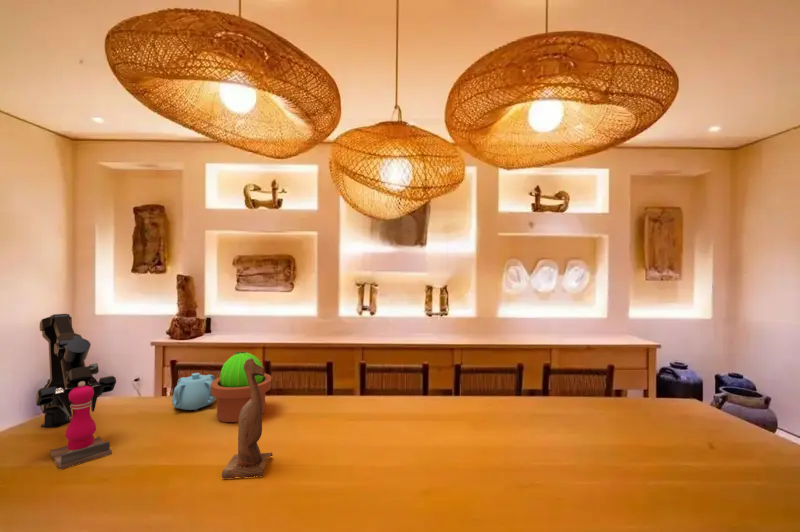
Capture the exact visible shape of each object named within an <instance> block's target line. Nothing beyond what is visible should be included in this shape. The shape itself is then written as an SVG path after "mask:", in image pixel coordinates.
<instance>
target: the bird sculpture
mask: <svg viewBox="0 0 800 532" xmlns="http://www.w3.org/2000/svg"><path fill="white" fill-rule="evenodd" d="M262 367H263V366H262ZM262 367H261V366H259V365H257V364H256V363H255V362H254V360H253V358H249V359H247V360H246V361H245V363H244V367H243V368H244V371H245V373H246V376H247V380H248V384H249V389H250V395H251V399H250V400H249V401H248V402H247V403H246V404H245V405H244V407H243V408H242V409H241V412H240V415H239V422H238V429H237V430H238V431H237V432H238V433H237V453H238V454H233V456H232V458H231V459H230V460H229V461H228V463H227V465H226V466H225V467H224V468H223V470H222V471H221V479H222V478H224V479H225V478H234V479H235V477H243V478H244V477H248V478H249V477H254V476H255V477H256V476H257V477H258V476H259V477H260V476H262V477H263V476H264V470H265V467H266V465H267V463H268V460H269V457H270V456H273V457H274V454H273V452H261V450H260V447H259V443H258V442H259V440H260V439H261V437H262V434H263V415H262V399H261V393H260V390H259V387H258V384H257V381H256V379H255V376H257V375H260V376H264V373H265V371H264V367H263V368H262ZM257 477H256V478H257Z"/></svg>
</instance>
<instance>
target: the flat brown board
mask: <svg viewBox="0 0 800 532" xmlns="http://www.w3.org/2000/svg"><path fill="white" fill-rule="evenodd" d="M50 454H51V455H50ZM109 454H110V455H112V454H113V450H112V448H110V441H109V440H107V441H104V440H103V439H102V438H101V437H100V436H97V437H94V443H93V444H92V445H90V446H88V447H86V448H82V449H78V450H69V449H68V448H67V445H65V446H61V447H58V448H54V449H51V450H49V455H50V457H51V456H52V457H53V459H54V460H53V459H52V460H53V462H54V461H55V462H56V464H57V465H56V464H55V465H56V466H58V467H59V468H58V467H57V468H58V470H59V469H62V470H64V469H63V468H65V469H67V468H66V467H68V468H70V467H69V466H71V467H73V466H72V465H75V466H77V465H76V464H78V465H80V464H79V463H81V464H83V462H84V463H87V462H90V461H89V460H91V461H93V460H92V459H94V460H96V459H95V458H97V459H100V458H102V456H103V457H106V456H110V455H109ZM105 455H106V456H105ZM52 457H51V458H52ZM99 457H100V458H99ZM86 461H87V462H86ZM55 462H54V463H55Z"/></svg>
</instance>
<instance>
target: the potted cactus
mask: <svg viewBox="0 0 800 532" xmlns="http://www.w3.org/2000/svg"><path fill="white" fill-rule="evenodd" d="M249 358H253V360H254V362H255V363H256V364H257V365H259V366H261V367H262V368H263V369H264V368H265V367H264V366H263V363H262V362H261V361H260V359H259V358H258V357H257V356H256V355H255V354H252V353H250V352H246V351H241V352H239V351H236V352H234V353H233V354H232V356H230V357H229V358H228V359H227V360H225V362H224V363H223V364H222V365H223V366H222V368H221V371H219V372H220V374H219V377H217V378H215V380H214V381H213V382H212V383H211V395H212V396H213V397H216V401H217V404H216V406H217V407H216V411H217V412H216V417H217V420H218V421H220V422H222V423H227V422H238V423H239V415H240V412H241V409H242V408H243V407H244V405H245V404H246V403H247V402H248V401H249V400H250V399H251V395H250V389H249V384H248V380H247V376H246V373H245V371H244V368H243V367H244V363H245V361H246V360H247V359H249ZM255 379H256V381H257V384H258V387H259V390H260V393H261V399H262V414H263V415H264V414H265V411H266V393H267V392H268V391H270V390H271V389H272V376H271V375H270V374H269V373H266V372H264V376H260V375H257V376H255Z"/></svg>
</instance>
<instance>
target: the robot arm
mask: <svg viewBox="0 0 800 532" xmlns="http://www.w3.org/2000/svg"><path fill="white" fill-rule="evenodd" d="M39 332H41V335H42V338H43V339H44V340H46V342H48V359H49V361H48V362H49V381H50V382H49V383H48V385H46V387H41V388H39V389H38V390H37V392H36V396H35V406H37V407H40V408H41V411H42V412H44V413H45V414H44V423H43V424H41V425H40V428H41V427H42V428H43V427H44V428H58V427H61V426H63V425H65V424H67V423H70V422H71V419H72V416H73V411H72V409H71V403H72V402H71V401H70V400H69V397H68V396H69V393H70V391H71V390H72V389H74V388H75V387H78V383H79V382H80V381H84V382H85V385H87V386H90V387H92V388H93V390H94V395H93V397H92V398H91V400H92V405H91V406H90V411H91V412H95V409H96V405H97V400H98V397H99V396H102V394H104V393H109V392H112V391H114V389H115V386H116V383H117V379H116V378H117V377H115V376H114V375H110V376H104V377H100V378H99V380H98V382H94V383H90V382H91V381H92V376H93V375H97V374H98V373H99V364H98V363H97V362H94V363H91V364H89V365H88V366H86V362H85V360H86V359H87V356H88V354H89V351H90V348H91V345H92V344H91V342H90V341H89V340H87V339H85V338H84V337H82V335H81V334H79V333H76V332H75V331H74V328H73V317H72V316H71V315H70V314H69V313H57V314H51V315H50V316H48V317H45V318H41V320H40V321H39Z"/></svg>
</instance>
